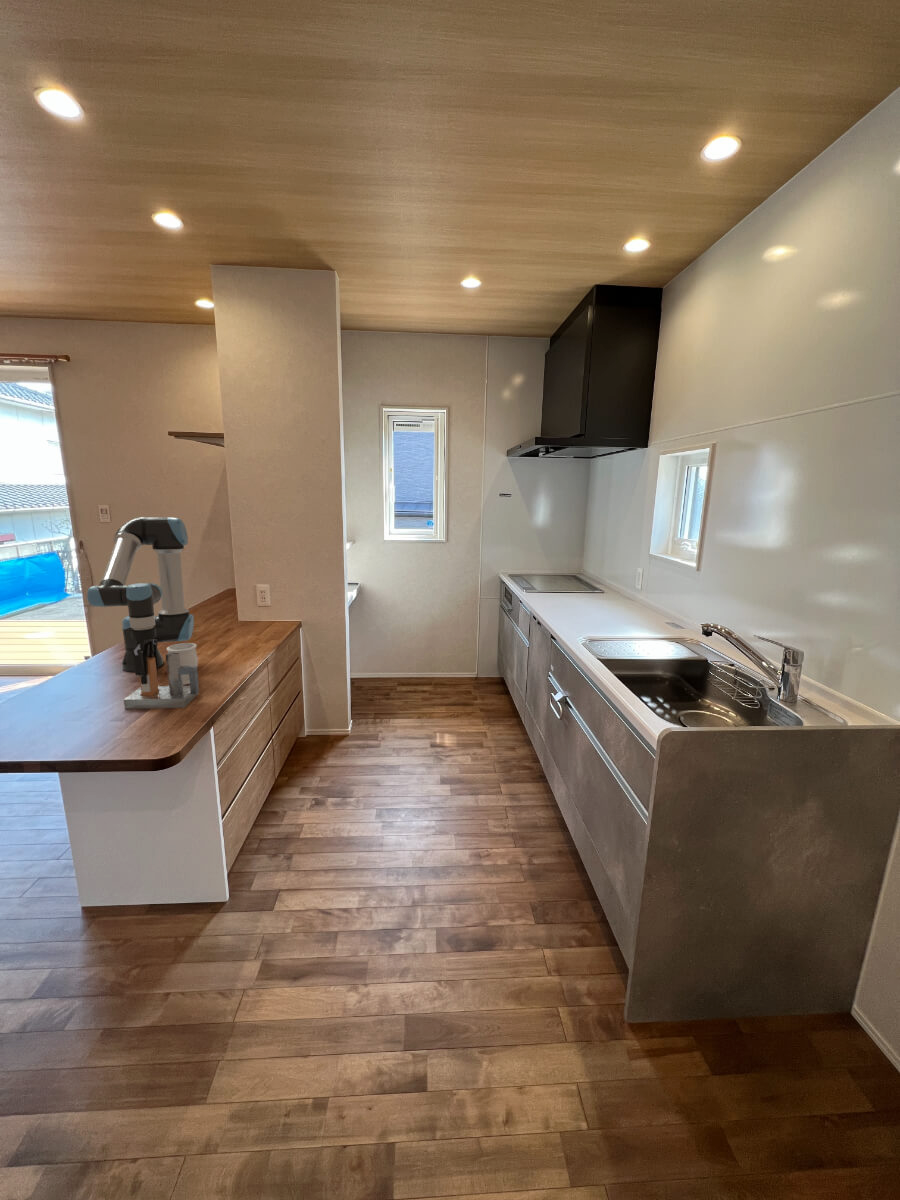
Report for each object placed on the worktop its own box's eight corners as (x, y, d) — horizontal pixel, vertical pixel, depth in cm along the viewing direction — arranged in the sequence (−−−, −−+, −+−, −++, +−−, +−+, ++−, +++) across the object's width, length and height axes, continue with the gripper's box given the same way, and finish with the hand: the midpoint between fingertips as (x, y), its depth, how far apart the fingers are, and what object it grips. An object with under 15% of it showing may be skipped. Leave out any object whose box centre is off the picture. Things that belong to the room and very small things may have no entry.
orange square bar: (147, 696, 176) (143, 657, 173) (159, 695, 176) (155, 657, 173) (142, 700, 172) (137, 661, 169) (153, 700, 173) (149, 661, 169)
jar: (194, 674, 201) (191, 641, 198) (203, 682, 194) (200, 647, 190) (166, 681, 193) (163, 645, 190) (174, 688, 186) (170, 652, 183)
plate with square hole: (142, 694, 180) (137, 649, 176) (204, 694, 182) (201, 649, 179) (124, 708, 168) (118, 660, 164) (191, 707, 171) (187, 660, 167)
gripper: (144, 621, 176) (150, 680, 181) (118, 634, 160) (126, 698, 165) (165, 621, 177) (171, 680, 182) (142, 634, 161) (149, 698, 166)
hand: (149, 688), depth 174 cm, fingers closed on orange square bar, 4 cm apart
